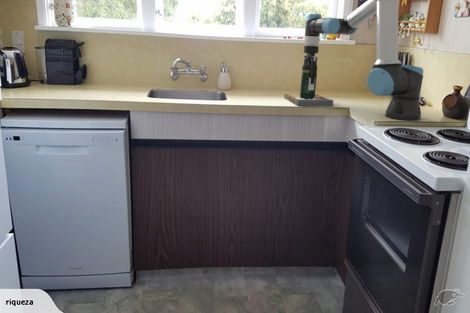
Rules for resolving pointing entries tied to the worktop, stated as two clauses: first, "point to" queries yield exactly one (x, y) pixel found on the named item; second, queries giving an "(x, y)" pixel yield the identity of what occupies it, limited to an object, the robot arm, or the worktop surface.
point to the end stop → (314, 102)
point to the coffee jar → (306, 83)
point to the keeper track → (293, 100)
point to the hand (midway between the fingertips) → (308, 88)
